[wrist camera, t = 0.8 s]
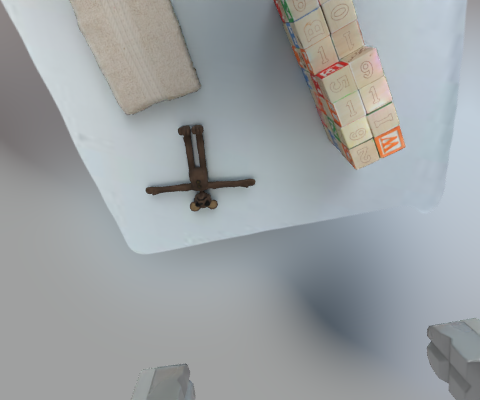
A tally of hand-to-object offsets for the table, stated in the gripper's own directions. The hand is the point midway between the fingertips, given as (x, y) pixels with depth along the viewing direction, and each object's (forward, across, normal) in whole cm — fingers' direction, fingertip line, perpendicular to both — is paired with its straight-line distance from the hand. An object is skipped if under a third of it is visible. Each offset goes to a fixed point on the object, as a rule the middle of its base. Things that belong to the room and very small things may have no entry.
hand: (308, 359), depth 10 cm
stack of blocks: (+38, -13, -12) cm, 42 cm away
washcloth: (+38, +12, -20) cm, 44 cm away
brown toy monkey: (+42, +8, 0) cm, 43 cm away
